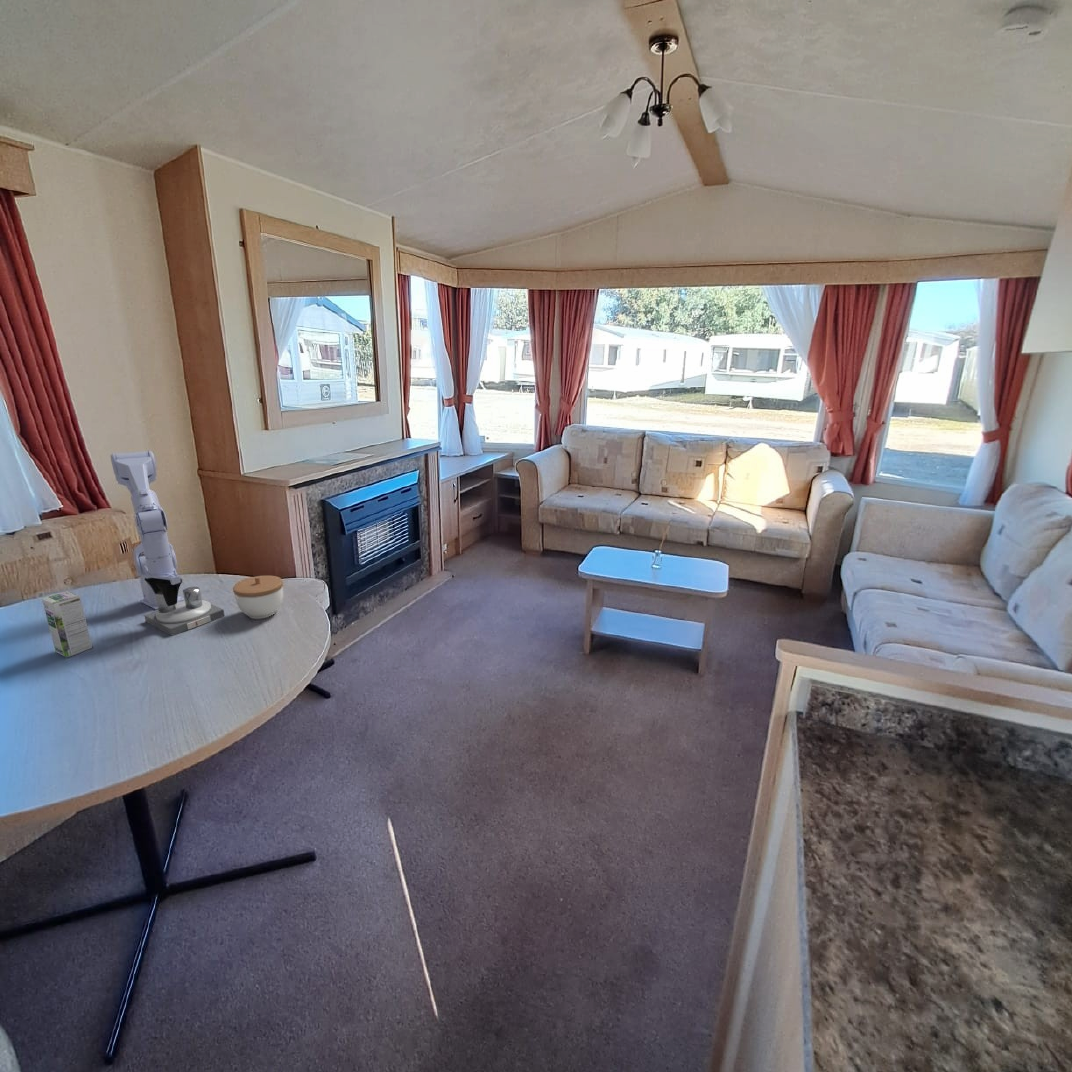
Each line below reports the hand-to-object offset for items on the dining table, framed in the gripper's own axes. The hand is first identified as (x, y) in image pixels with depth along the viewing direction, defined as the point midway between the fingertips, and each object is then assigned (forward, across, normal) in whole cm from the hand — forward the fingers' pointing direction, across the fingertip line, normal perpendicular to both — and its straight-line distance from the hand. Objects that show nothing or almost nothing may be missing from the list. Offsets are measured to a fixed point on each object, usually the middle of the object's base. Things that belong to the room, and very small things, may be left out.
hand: (168, 602), depth 152 cm
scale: (+6, 0, +4) cm, 7 cm away
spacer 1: (+2, 0, 0) cm, 2 cm away
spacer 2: (+3, 0, +6) cm, 7 cm away
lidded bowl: (+7, +14, +18) cm, 23 cm away
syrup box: (+6, -5, -20) cm, 22 cm away
